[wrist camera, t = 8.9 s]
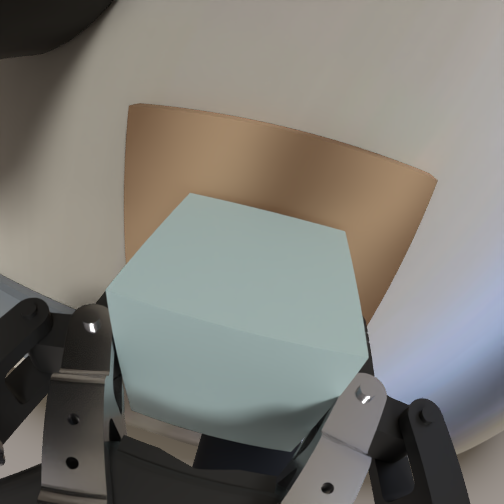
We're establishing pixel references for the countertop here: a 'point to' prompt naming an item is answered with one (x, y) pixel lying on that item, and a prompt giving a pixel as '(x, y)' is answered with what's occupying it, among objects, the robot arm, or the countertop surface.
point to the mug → (43, 24)
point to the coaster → (274, 184)
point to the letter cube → (238, 322)
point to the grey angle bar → (11, 293)
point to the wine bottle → (240, 456)
